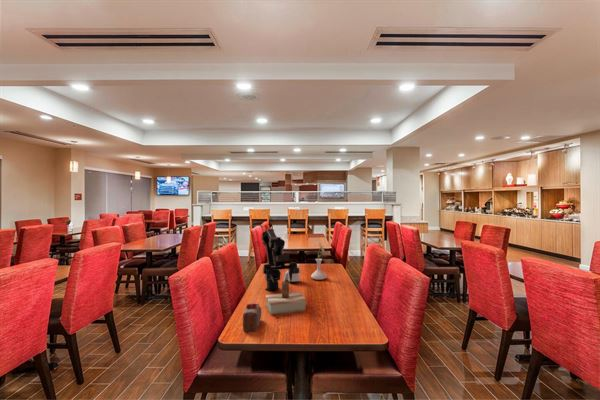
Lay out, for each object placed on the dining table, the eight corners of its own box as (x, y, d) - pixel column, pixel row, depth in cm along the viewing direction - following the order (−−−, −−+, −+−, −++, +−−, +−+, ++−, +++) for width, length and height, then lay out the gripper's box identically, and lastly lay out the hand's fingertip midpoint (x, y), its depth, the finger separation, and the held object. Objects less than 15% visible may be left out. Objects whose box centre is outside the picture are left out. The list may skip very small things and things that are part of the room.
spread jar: (299, 284, 205) (299, 266, 205) (282, 284, 205) (282, 266, 205) (299, 279, 217) (299, 262, 217) (283, 279, 217) (283, 262, 217)
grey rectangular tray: (266, 306, 164) (266, 297, 164) (298, 303, 169) (298, 294, 169) (270, 315, 153) (270, 305, 153) (305, 310, 158) (305, 301, 158)
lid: (265, 297, 164) (265, 280, 164) (299, 293, 170) (298, 277, 170) (270, 305, 152) (270, 287, 152) (306, 301, 158) (306, 284, 158)
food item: (245, 319, 148) (245, 299, 148) (261, 319, 148) (261, 298, 148) (241, 332, 134) (241, 309, 134) (260, 331, 135) (260, 309, 134)
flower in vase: (326, 281, 211) (325, 245, 211) (309, 280, 214) (309, 244, 213) (328, 276, 224) (328, 242, 224) (312, 275, 227) (312, 241, 226)
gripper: (263, 249, 169) (267, 274, 158) (296, 248, 174) (302, 272, 164) (261, 261, 176) (264, 285, 166) (292, 259, 182) (298, 282, 171)
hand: (282, 281), depth 166 cm, fingers open, 9 cm apart
